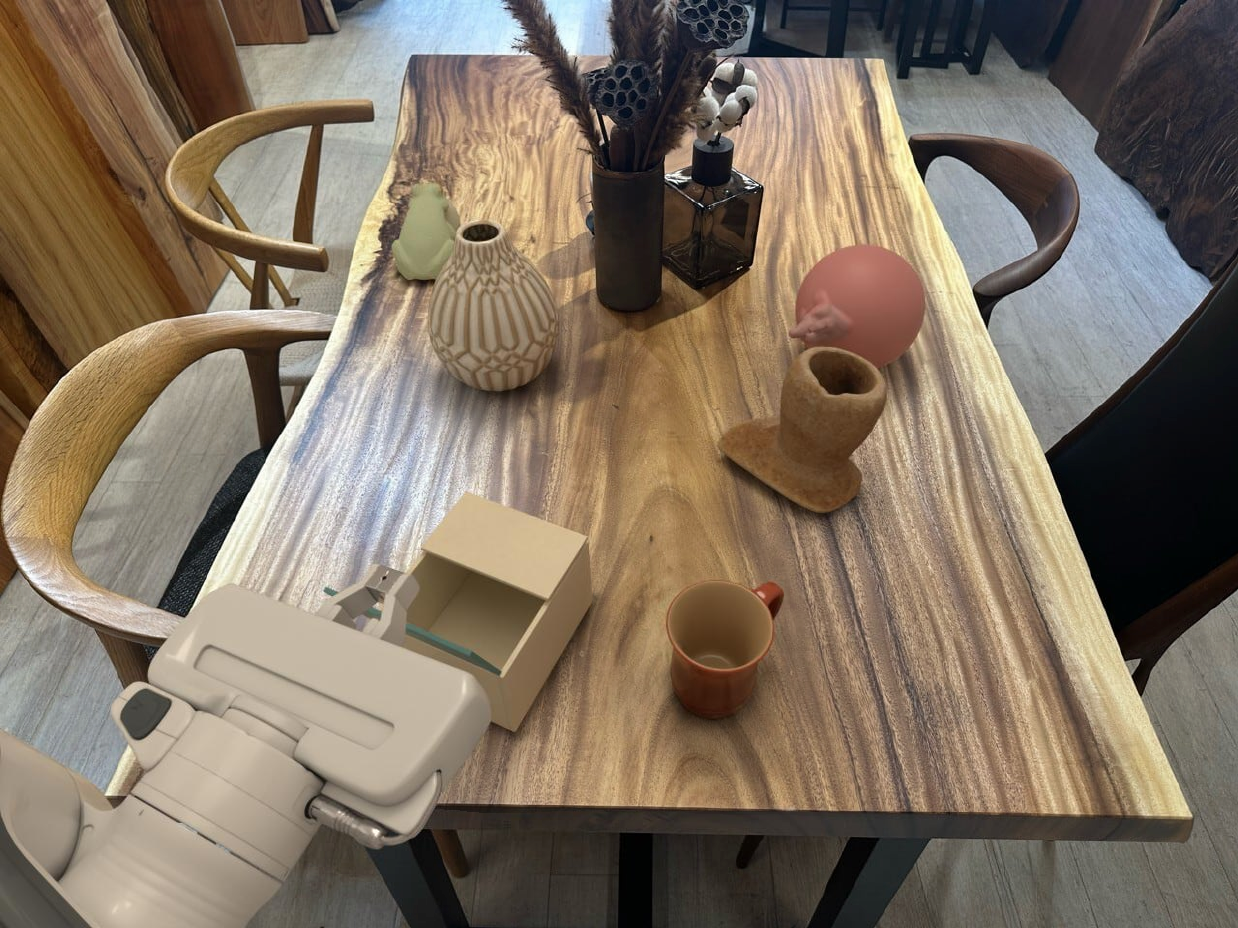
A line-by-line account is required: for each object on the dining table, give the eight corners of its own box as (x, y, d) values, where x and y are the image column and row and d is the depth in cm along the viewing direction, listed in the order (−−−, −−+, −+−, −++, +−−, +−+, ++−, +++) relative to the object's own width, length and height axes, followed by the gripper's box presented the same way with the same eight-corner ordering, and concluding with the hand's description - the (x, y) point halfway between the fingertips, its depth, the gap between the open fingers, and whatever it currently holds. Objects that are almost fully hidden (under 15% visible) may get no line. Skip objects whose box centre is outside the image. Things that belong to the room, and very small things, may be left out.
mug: (709, 751, 69) (719, 693, 61) (642, 680, 73) (644, 618, 66) (803, 670, 74) (823, 607, 66) (735, 608, 79) (746, 543, 71)
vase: (571, 402, 100) (560, 261, 85) (441, 419, 98) (408, 278, 83) (554, 326, 110) (542, 189, 96) (437, 340, 109) (407, 203, 94)
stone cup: (884, 477, 90) (918, 373, 80) (817, 533, 85) (845, 430, 74) (779, 410, 98) (798, 308, 87) (712, 457, 93) (723, 355, 82)
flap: (502, 671, 63) (499, 676, 63) (368, 612, 67) (365, 616, 66) (472, 650, 56) (469, 656, 56) (325, 586, 60) (322, 591, 60)
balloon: (736, 361, 105) (748, 258, 94) (846, 309, 112) (869, 208, 101) (819, 428, 96) (844, 323, 85) (932, 367, 104) (969, 263, 92)
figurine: (475, 227, 129) (466, 167, 121) (459, 286, 117) (448, 224, 110) (412, 227, 129) (399, 168, 122) (390, 286, 118) (374, 224, 110)
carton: (515, 732, 70) (501, 673, 62) (392, 675, 74) (366, 612, 66) (592, 601, 79) (588, 535, 72) (480, 556, 83) (465, 490, 76)
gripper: (372, 842, 35) (524, 590, 43) (90, 695, 44) (259, 506, 52) (424, 884, 40) (554, 648, 48) (159, 743, 49) (305, 563, 56)
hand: (398, 574), depth 50 cm, fingers closed
